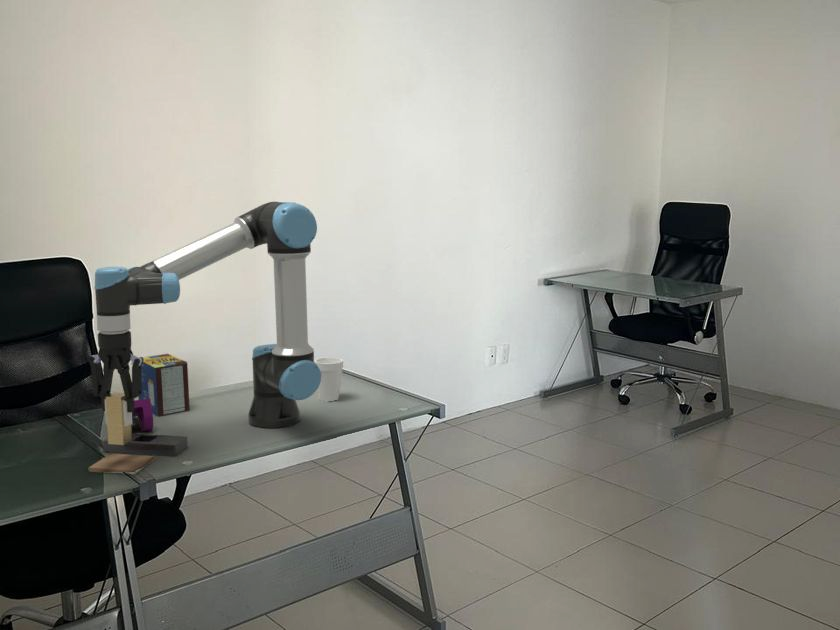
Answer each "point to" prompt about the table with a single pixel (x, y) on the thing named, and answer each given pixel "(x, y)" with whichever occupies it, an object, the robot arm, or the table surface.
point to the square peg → (117, 420)
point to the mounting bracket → (143, 414)
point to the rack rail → (150, 445)
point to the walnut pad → (121, 463)
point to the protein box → (165, 384)
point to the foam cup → (329, 377)
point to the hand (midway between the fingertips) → (119, 423)
